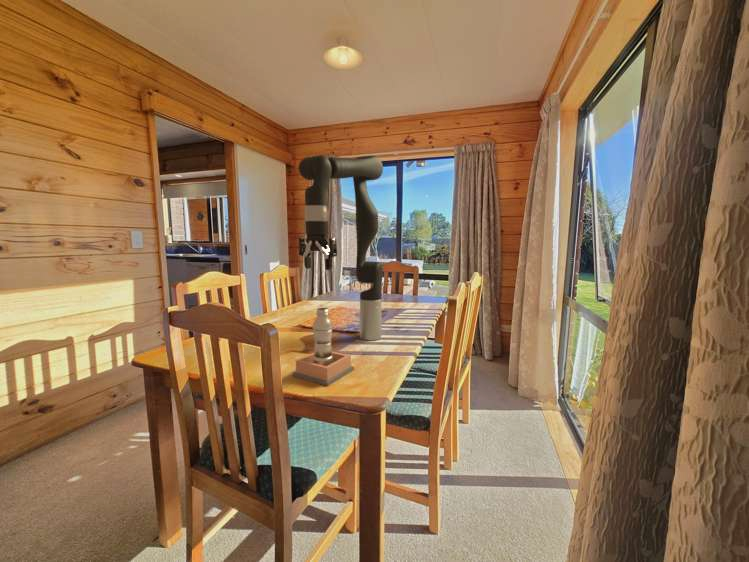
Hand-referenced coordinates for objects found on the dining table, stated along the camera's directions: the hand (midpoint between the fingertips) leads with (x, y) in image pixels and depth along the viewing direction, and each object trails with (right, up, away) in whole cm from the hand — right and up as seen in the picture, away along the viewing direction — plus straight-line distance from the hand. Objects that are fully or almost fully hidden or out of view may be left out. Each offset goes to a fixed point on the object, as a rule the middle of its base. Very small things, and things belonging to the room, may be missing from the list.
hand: (318, 269), depth 111 cm
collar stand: (+3, -34, -4) cm, 34 cm away
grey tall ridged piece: (+2, -33, -4) cm, 33 cm away
